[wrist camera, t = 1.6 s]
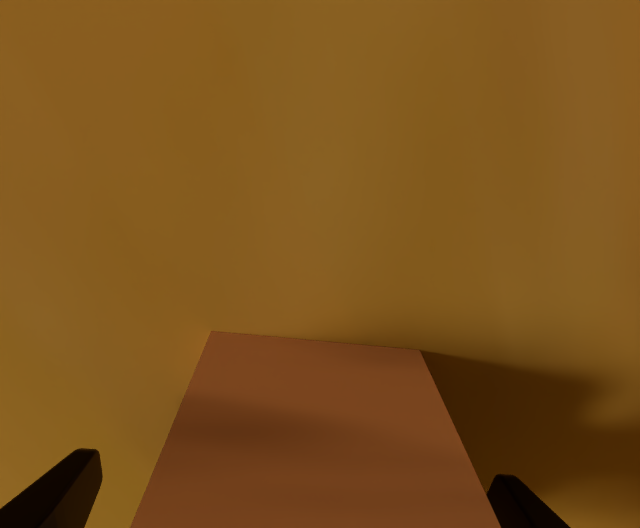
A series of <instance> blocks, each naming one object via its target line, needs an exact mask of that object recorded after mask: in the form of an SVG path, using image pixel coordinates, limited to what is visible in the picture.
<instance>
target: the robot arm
mask: <svg viewBox="0 0 640 528" xmlns="http://www.w3.org/2000/svg"><path fill="white" fill-rule="evenodd" d="M101 483H102V468H101V461H100V454H99V452H98V450H96V449H84V448H81V449H77V450H75V451H73V452H72V453H71V454H69V455H68V456H67V457H66V458H64V459H63V460H62V461H60V462H59V463H58V464H57V465H55V466H54V467H53V468H52V469H50V470H49V471H48V472H47V473H45V474H44V475H43V476H41V477H40V478H39V479H38V480H36V481H35V482H34V483H33V484H31V485H30V486H29V487H27V488H26V489H25V490H24V491H22V492H21V493H20V494H19V495H17V496H16V497H15V498H13V499H12V500H11V501H10V502H8V503H7V504H6V505H5V506H3V507H2V508H1V509H0V528H84V527H85V524H86V522H87V519H88V517H89V514H90V512H91V509H92V507H93V504H94V502H95V499H96V496H97V494H98V491H99V489H100V486H101ZM486 496H487V498H488V500H489V502H490V504H491V507H492V509H493V511H494V513H495V515H496V518H497V520H498V522H499V524H500V526H501V528H570V527H569V526H568V525H567V524H566V523H565V522H564V521H563V520H562V519H561V518H560V517H559V516H558V515H557V514H556V513H554V512H553V511H552V510H551V509H550V508H549V507H548V506H547V505H546V504H545V503H544V502H543V501H542V500H541V499H540V498H539V497H538V496H537V495H535V494H534V493H533V492H532V491H531V490H530V489H529V488H528V487H527V486H526V485H525V484H524V483H523V482H522V481H521V480H520V479H518V478H517V477H516V476H514V475H506V474H498V475H496V476H495V478H494V480H493V482H492V484H491V486H490V488H489V490H488V493H487V495H486Z"/></svg>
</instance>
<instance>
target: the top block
mask: <svg viewBox="0 0 640 528" xmlns="http://www.w3.org/2000/svg"><path fill="white" fill-rule="evenodd" d="M130 528H501V526H500V524H499V522H498V520H497V518H496V515H495V513H494V511H493V509H492V507H491V504H490V502H489V500H488V498H487V496H486V494H485V491H484V489H483V487H482V485H481V483H480V481H479V478H478V476H477V474H476V472H475V470H474V467H473V465H472V463H471V461H470V459H469V457H468V454H467V452H466V450H465V448H464V446H463V444H462V441H461V439H460V437H459V435H458V433H457V431H456V428H455V426H454V424H453V422H452V420H451V417H450V415H449V413H448V411H447V409H446V407H445V404H444V402H443V400H442V398H441V396H440V394H439V391H438V389H437V387H436V385H435V383H434V380H433V378H432V376H431V374H430V372H429V370H428V367H427V365H426V363H425V361H424V359H423V357H422V354H421V352H420V350H414V349H403V348H392V347H381V346H370V345H359V344H348V343H336V342H325V341H314V340H303V339H292V338H281V337H270V336H259V335H248V334H237V333H226V332H215V331H211V333H210V335H209V338H208V340H207V343H206V345H205V348H204V350H203V352H202V355H201V357H200V360H199V362H198V365H197V367H196V369H195V372H194V374H193V377H192V379H191V382H190V384H189V386H188V389H187V391H186V394H185V396H184V398H183V401H182V403H181V406H180V408H179V411H178V413H177V415H176V418H175V420H174V423H173V425H172V428H171V430H170V432H169V435H168V437H167V440H166V442H165V445H164V447H163V449H162V452H161V454H160V457H159V459H158V462H157V464H156V466H155V469H154V471H153V474H152V476H151V478H150V481H149V483H148V486H147V488H146V491H145V493H144V495H143V498H142V500H141V503H140V505H139V508H138V510H137V512H136V515H135V517H134V520H133V522H132V525H131V527H130Z"/></svg>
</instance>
